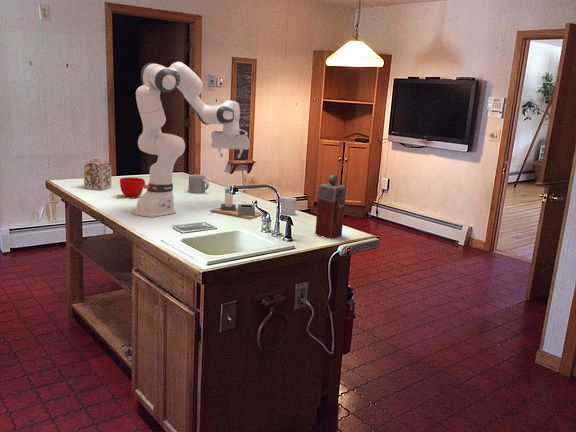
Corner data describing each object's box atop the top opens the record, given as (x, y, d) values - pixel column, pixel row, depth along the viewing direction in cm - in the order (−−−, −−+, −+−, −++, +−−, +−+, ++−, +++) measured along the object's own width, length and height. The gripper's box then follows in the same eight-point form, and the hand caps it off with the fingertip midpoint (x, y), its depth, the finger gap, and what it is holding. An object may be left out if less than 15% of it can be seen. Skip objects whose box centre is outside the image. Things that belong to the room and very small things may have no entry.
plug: (232, 210, 274) (233, 189, 272) (224, 209, 274) (225, 189, 271) (231, 208, 278) (232, 188, 276) (224, 208, 277) (225, 187, 275)
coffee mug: (185, 191, 321) (185, 175, 318) (197, 190, 328) (197, 174, 326) (199, 195, 313) (200, 178, 310) (212, 193, 320) (212, 177, 318)
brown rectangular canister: (335, 240, 233) (340, 177, 227) (314, 234, 240) (319, 174, 234) (346, 236, 240) (351, 176, 234) (326, 231, 247) (331, 172, 241)
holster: (235, 211, 273) (235, 207, 272) (221, 210, 272) (221, 206, 271) (235, 207, 280) (235, 204, 279) (221, 207, 279) (221, 203, 278)
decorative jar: (102, 190, 306) (101, 160, 302) (83, 189, 307) (83, 158, 304) (112, 187, 317) (111, 158, 313) (94, 185, 319) (93, 156, 315)
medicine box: (295, 214, 280) (296, 198, 278) (293, 215, 276) (294, 199, 274) (281, 212, 282) (282, 196, 280) (278, 213, 278) (279, 197, 276)
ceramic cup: (153, 195, 302) (153, 178, 299) (133, 200, 286) (133, 182, 284) (135, 192, 307) (135, 175, 304) (114, 196, 292) (114, 179, 289)
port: (254, 215, 265) (255, 208, 264) (238, 215, 264) (239, 207, 263) (253, 212, 273) (253, 204, 272) (237, 211, 271) (238, 204, 271)
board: (250, 219, 261) (250, 217, 260) (210, 212, 271) (210, 210, 271) (263, 214, 273) (264, 212, 273) (225, 207, 283) (225, 206, 283)
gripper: (211, 130, 276) (210, 156, 278) (250, 132, 279) (249, 158, 281) (211, 130, 282) (210, 156, 284) (249, 132, 285) (248, 158, 287)
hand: (230, 157), depth 283 cm, fingers open, 8 cm apart
